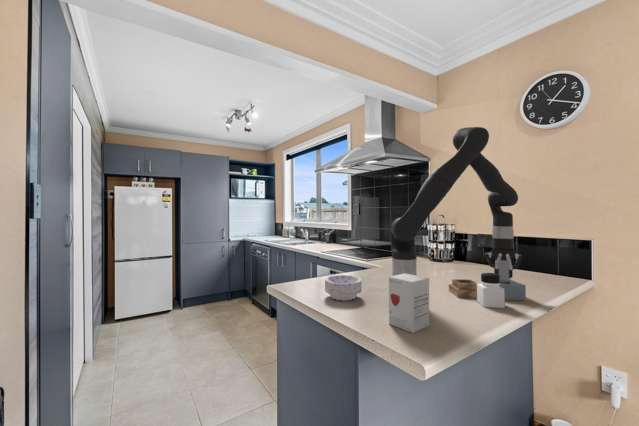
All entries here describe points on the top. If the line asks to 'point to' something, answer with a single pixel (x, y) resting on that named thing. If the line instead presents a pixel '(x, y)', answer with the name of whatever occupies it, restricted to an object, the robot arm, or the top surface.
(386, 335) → the top surface
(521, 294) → the bin
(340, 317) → the top surface
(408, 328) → the supplement box
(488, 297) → the medicine bottle
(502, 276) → the strut
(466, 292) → the socket block
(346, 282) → the pale lilac bowl
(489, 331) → the top surface
